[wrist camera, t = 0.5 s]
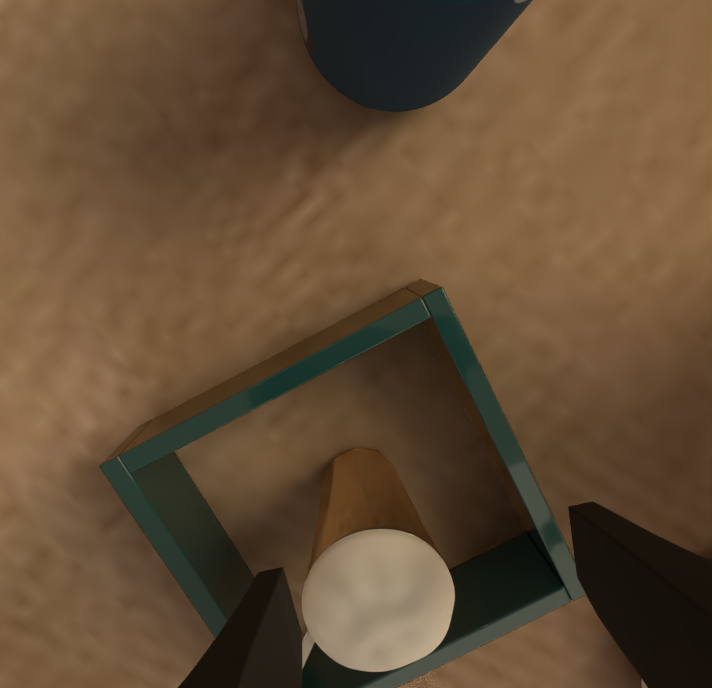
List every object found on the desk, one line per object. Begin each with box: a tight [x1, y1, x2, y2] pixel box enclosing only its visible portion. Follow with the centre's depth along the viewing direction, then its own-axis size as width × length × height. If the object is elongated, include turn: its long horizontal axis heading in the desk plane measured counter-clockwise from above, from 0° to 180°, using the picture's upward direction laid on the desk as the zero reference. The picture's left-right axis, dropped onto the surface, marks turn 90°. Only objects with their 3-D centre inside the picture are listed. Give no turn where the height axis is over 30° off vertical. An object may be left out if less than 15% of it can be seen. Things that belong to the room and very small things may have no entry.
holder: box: [99, 279, 586, 688], centre depth 22 cm, size 14×14×4 cm
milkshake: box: [301, 448, 455, 672], centre depth 19 cm, size 4×5×10 cm
